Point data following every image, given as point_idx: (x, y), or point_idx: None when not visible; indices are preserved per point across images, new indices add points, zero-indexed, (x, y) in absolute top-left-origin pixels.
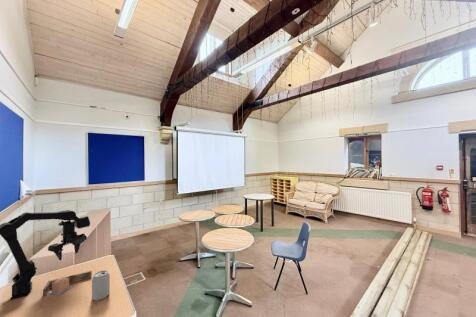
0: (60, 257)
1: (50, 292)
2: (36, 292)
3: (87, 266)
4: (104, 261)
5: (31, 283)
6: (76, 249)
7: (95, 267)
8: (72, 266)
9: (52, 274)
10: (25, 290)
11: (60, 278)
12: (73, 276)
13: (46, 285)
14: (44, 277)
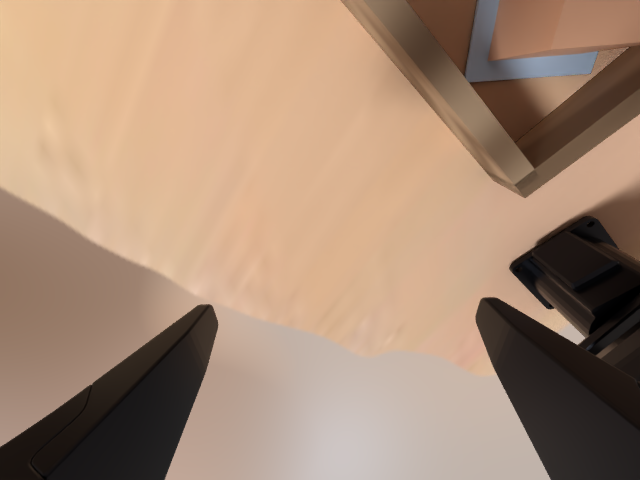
0: (555, 336)
1: (587, 59)
2: (554, 194)
3: (177, 201)
4: (39, 133)
5: (585, 271)
6: (174, 375)
7: (143, 103)
8: (232, 302)
9: (342, 317)
10: (605, 248)
11: (581, 37)
12: (416, 21)
13: (616, 122)
14: (379, 325)
